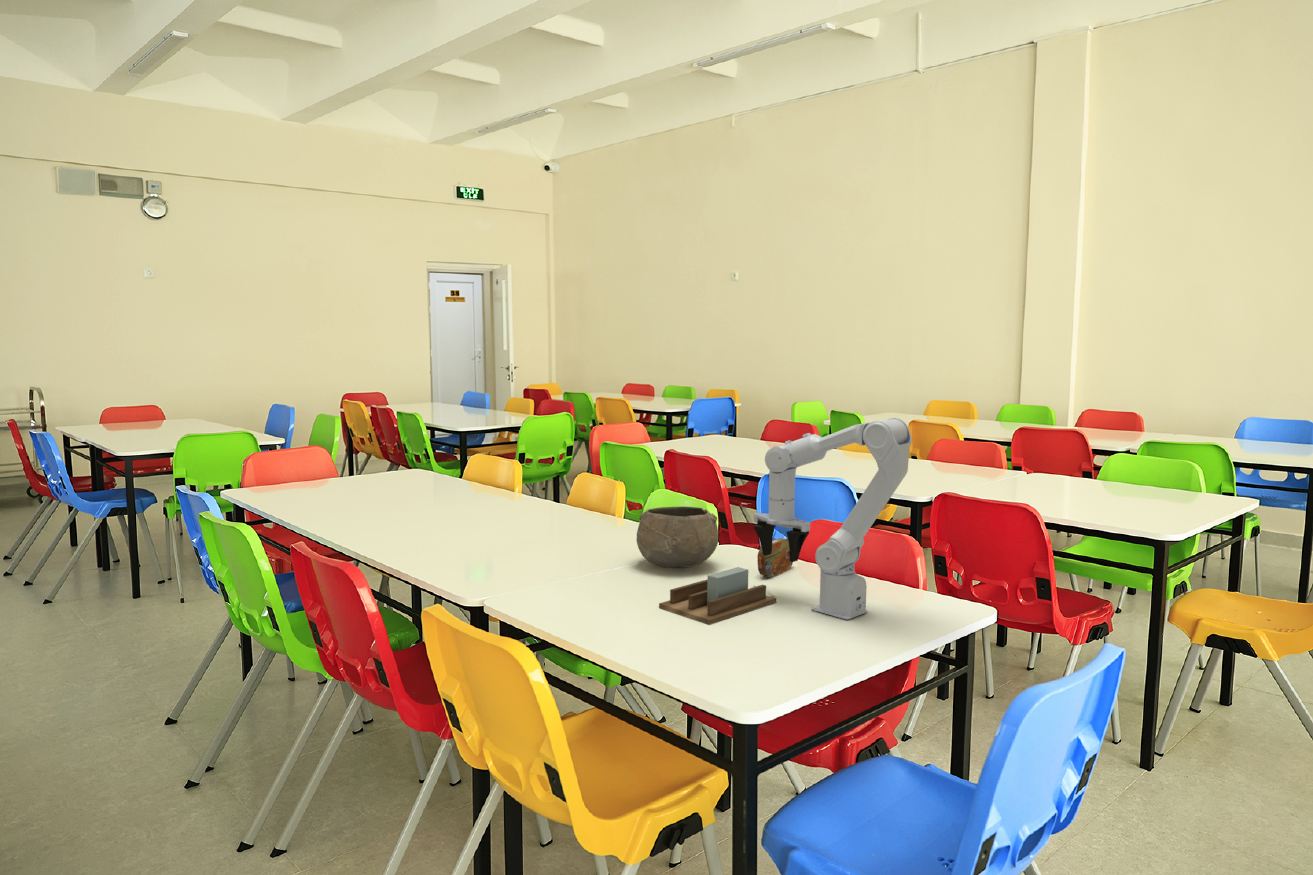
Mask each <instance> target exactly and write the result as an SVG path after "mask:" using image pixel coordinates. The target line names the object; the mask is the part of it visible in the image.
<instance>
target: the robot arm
mask: <svg viewBox="0 0 1313 875" xmlns="http://www.w3.org/2000/svg"><path fill="white" fill-rule="evenodd" d="M912 442H913V436H912V435H911V430H910V429H909V426H908V424H907V423H906V422H905V421H904V420H903V419H901V418H898V417H891V418H888V419H883V420H873V421H869V422H864V423H863V422H862V423H858V424H857V423H856V424H854V425H852V426H848V427H846V428H843V429H841V430H838V431H836V432H833V433H831V434H828V435H825V436H823V437H822V436H820V435H818V434H815V433H813V434H811V432H807V433H804V434H803V435H802V438H799V439H796V440H793V441H792V440H787V441H785V442H784V445H774V446H773V447H771V448H769V449H768V450H767V451H766V453H765V456H764V463H765V465H766V467H767V469H768V470H769V475H768V476H769V477H768V485H769V487H768V513H764V512H763V513H762V512H755V513H753V522H754V523H756V524H754V525H753V529H754V531H755V532H756V535H757V537H758V540H759V542H760V545H761V546H762V551H763V555H765V556H766V555H770V554H771V552H772V541H773V537H774V532H775V529H776V526H777V527H781V528H787V529H791V530H788V531H786V536H787V539H788V541H789V558H790V562H793V563H795V562H798V561H799V557H800V554H801V551H802V548H803V545H804V542H805V541H806V539H807V537H808V536H809V534H810V531H811V522H810V521H806V520H802V519H799V518H797V517H795V496H796V494H795V493H796V490H795V489H796V472H797V468H799V467H802V466H805V465H808V464H811V463H815V462H817V461H821V460H823V459H824V458H825V457H826V454H827V452H828V451H831V450H835V449H839V448H842V447H846V446H848V445H852V444H857V445H859V446H865V447H866V448H867V449H868V450H869V453H870V454H871V455H872V457H873V459H874V461H875V462H876V465H877V468H878V470H877V471H876V473H875V474H874V476H873V478H872V479H871V480H870V482H869V483H868V485H867V486H866V488H865V489H864V491H863V493H862V494H861V495H860V498H859V499H858V501H857V502H856V503H855V505H854V507H853V508H852V510H851V511H850V513H849V514H848V515H847V517H846V519H845V521H844V522H843V524H842V525H841V526H840V528H839V529H837V530H836V531H835V532H834V533H833V534H832V535H831V536H829V538H828V540H827V541H826V542H825V543H823V544H821V545H819V546H818V547H817V549H816V551H815V555H814V556H815V562H816V564H817V566H818V568H819V569H820V575H819V576H820V580H819V583H820V585H819V604H817V605H814V606H812V607H811V608H810V610H811V611H815V612H818V613H822V614H824V615H825V614H826V615H829V616H832V617H836V618H838V619H843V620H850V619H853V618H856V617H858V616H860V615H863V614H866V613H868V612H869V611H868V609H867V587H868V586H867V581H866V579H865V577H863V576H861V575H859V574H857V573H856V571H855V570H856V569H855V563H857V562H858V560H859V559H860V555H861V550H862V547H863V545H864V544H865V540H864V538H865V536H866V535H867V533H868V532H869V530H870V529H871V527H872V526H873V524H874V523H875V521H876V520H877V519H878V517H879V515H880V514H881V512H882V511H883V510H884V508H885V507H886V505H887V503H888V502H889V501H890V499H891V498H892V497H893V495H894V493H895V492H896V490H897V489H898V488H899V486H900V485H901V483H902V481H903V480H904V479H905V477H906V476H907V474H908V471H909V458H910V449H911V448H910V447H911V445H912ZM761 546H760V547H761Z"/></svg>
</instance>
